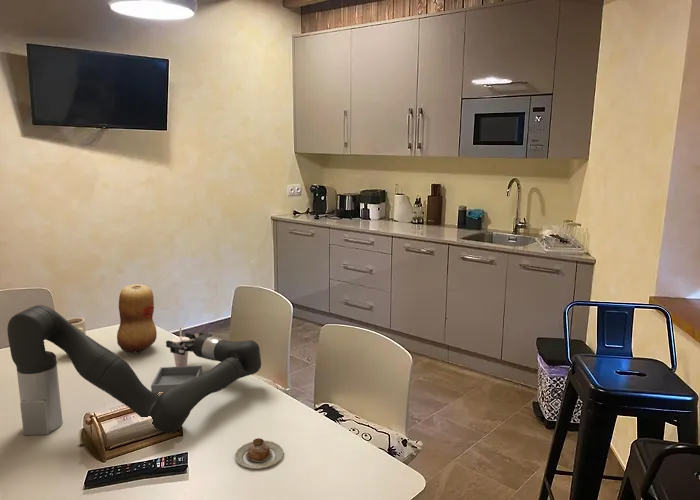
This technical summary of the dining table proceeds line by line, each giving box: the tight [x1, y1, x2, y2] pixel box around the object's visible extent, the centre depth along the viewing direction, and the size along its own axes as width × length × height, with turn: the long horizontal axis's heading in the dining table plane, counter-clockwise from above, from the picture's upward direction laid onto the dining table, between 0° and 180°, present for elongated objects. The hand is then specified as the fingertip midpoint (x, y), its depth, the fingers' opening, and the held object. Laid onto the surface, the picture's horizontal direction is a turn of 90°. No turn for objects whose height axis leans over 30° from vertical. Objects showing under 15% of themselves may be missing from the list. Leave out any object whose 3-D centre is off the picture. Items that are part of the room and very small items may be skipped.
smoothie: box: [170, 326, 190, 367], centre depth 184 cm, size 6×6×14 cm
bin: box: [150, 365, 203, 395], centre depth 171 cm, size 13×13×4 cm
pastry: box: [234, 437, 284, 470], centre depth 134 cm, size 12×12×5 cm
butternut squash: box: [116, 283, 158, 354], centre depth 195 cm, size 14×13×25 cm
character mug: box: [66, 317, 87, 335], centre depth 192 cm, size 11×7×13 cm, turn 56°
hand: (176, 339), depth 185 cm, fingers open, 8 cm apart
